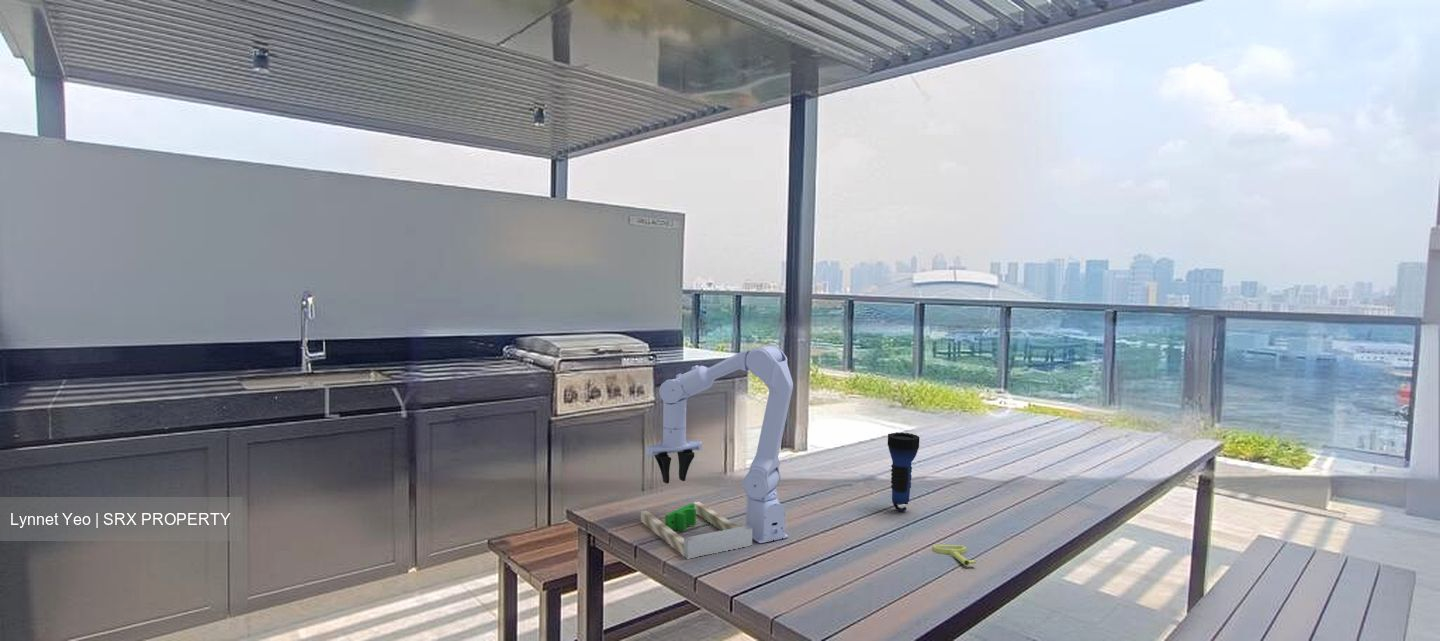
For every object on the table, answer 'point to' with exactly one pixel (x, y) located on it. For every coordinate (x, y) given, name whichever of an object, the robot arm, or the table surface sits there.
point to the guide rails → (676, 539)
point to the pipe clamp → (681, 518)
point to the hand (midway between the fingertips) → (674, 481)
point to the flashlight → (902, 465)
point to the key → (953, 552)
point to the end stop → (717, 541)
